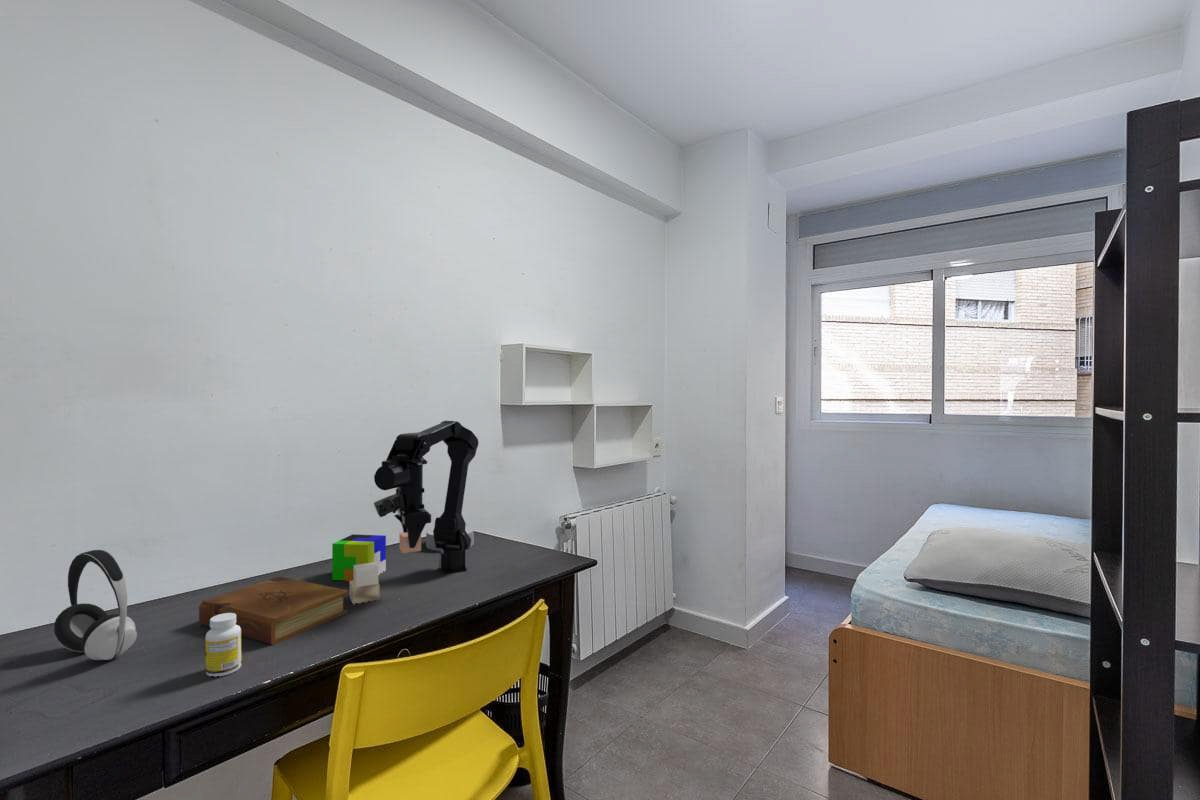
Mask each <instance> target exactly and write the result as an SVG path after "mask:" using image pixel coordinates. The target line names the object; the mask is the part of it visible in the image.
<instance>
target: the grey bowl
mask: <svg viewBox="0 0 1200 800" xmlns="http://www.w3.org/2000/svg"><path fill="white" fill-rule="evenodd" d="M433 530H434V527H431V528H429V529H427V530H426V533H425V536H426V537H425V539H426V540H425V546H426V549H428V550H430V549H431V550H430V551H434V550H436V551H435V552H441V548H436V545H435V541H434V537H433V533H434V532H433ZM465 531H466V533H467V534H468V536H469V537H470V538H471V544H470V546H471V547H473V546H474V543H475V542H474V541H475V540H474V539H475V529H474V528H473V527H472V526H471V527H470V526H465ZM472 545H473V546H472Z"/></svg>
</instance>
